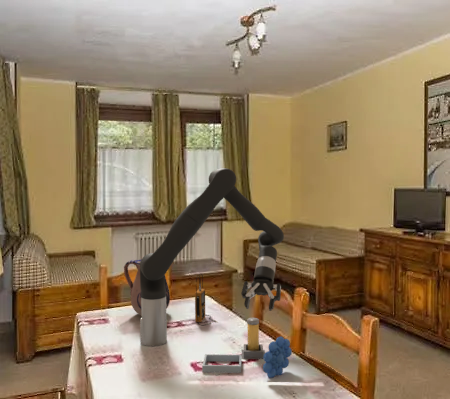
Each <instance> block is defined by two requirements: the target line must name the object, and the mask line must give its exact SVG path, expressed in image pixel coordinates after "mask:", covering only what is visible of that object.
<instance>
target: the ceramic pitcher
mask: <svg viewBox="0 0 450 399" xmlns="http://www.w3.org/2000/svg"><path fill="white" fill-rule="evenodd" d="M141 260H142V258H141V259H131V260H128V261H127V262H126V263H125V264H124V266H123V272H124V277H125V279H126V282H127V283H128V284H127V285H128V287H129V289H130V304H131V307H132V309H133V310H134V312H136V314H138V315H139V316H141V317H142V307H141V287H140V262H141ZM130 265H134V266H135V267H136V269H137V272H136V274H135V278H134V281H133V280H132V279H131V277H130V273H129V266H130ZM164 279H165V287H166V310H167V309H168V308H169V305H170V301H171V293H170V288H169V285H168V282H167V279H166V274H165V275H164Z"/></svg>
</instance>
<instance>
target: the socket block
mask: <svg viewBox="0 0 450 399" xmlns="http://www.w3.org/2000/svg"><path fill="white" fill-rule="evenodd" d="M247 350H248V343H244V344H243V349H241V360H264V358H263V357H264V354H265V353H266V352H265V351H266V350H265V349H264V345H263V344H262V343H261V344H260V343H259V351H247Z"/></svg>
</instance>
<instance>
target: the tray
mask: <svg viewBox="0 0 450 399" xmlns="http://www.w3.org/2000/svg"><path fill="white" fill-rule="evenodd" d="M207 362H237V363H238V365H235V364H234V365H233V364H231V365H230V364H229V365H227V364H224V365H223V364H222V365H221V364H220V365H219V364H207ZM201 366H202V368H201V370H202V371H201V372H202V373H220V374H221V373H225V374H226V373H227V374H228V373H229V374H231V373H232V374H237V373H238V374H241V373H242V354H221V353H220V354H215V353H212V354H211V353H209V354H207V353H205V354H204V358H203V361H202V365H201Z"/></svg>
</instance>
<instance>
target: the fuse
mask: <svg viewBox="0 0 450 399" xmlns="http://www.w3.org/2000/svg"><path fill="white" fill-rule="evenodd" d="M246 323H247V344H248V350H247V351H259V344H260V336H259V334H260V326H259V325H260V319H259V318H257V317H248V318H247V319H246Z"/></svg>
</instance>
